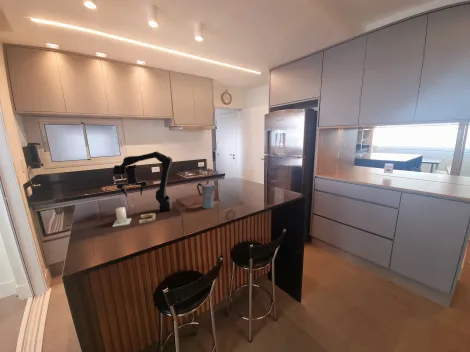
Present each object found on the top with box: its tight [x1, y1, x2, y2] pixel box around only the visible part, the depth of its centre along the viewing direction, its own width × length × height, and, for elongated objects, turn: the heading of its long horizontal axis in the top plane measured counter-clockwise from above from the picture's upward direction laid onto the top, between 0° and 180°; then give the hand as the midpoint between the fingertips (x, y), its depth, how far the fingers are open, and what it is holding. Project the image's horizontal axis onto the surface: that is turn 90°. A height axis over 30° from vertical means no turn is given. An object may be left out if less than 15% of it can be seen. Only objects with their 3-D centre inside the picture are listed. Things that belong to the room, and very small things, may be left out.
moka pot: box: [196, 180, 217, 210], centre depth 149 cm, size 10×15×20 cm, turn 78°
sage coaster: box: [112, 217, 132, 228], centre depth 127 cm, size 9×9×1 cm
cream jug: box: [115, 206, 128, 224], centre depth 127 cm, size 8×5×9 cm
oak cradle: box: [138, 212, 156, 224], centre depth 132 cm, size 9×11×2 cm
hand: (134, 196), depth 143 cm, fingers open, 9 cm apart
